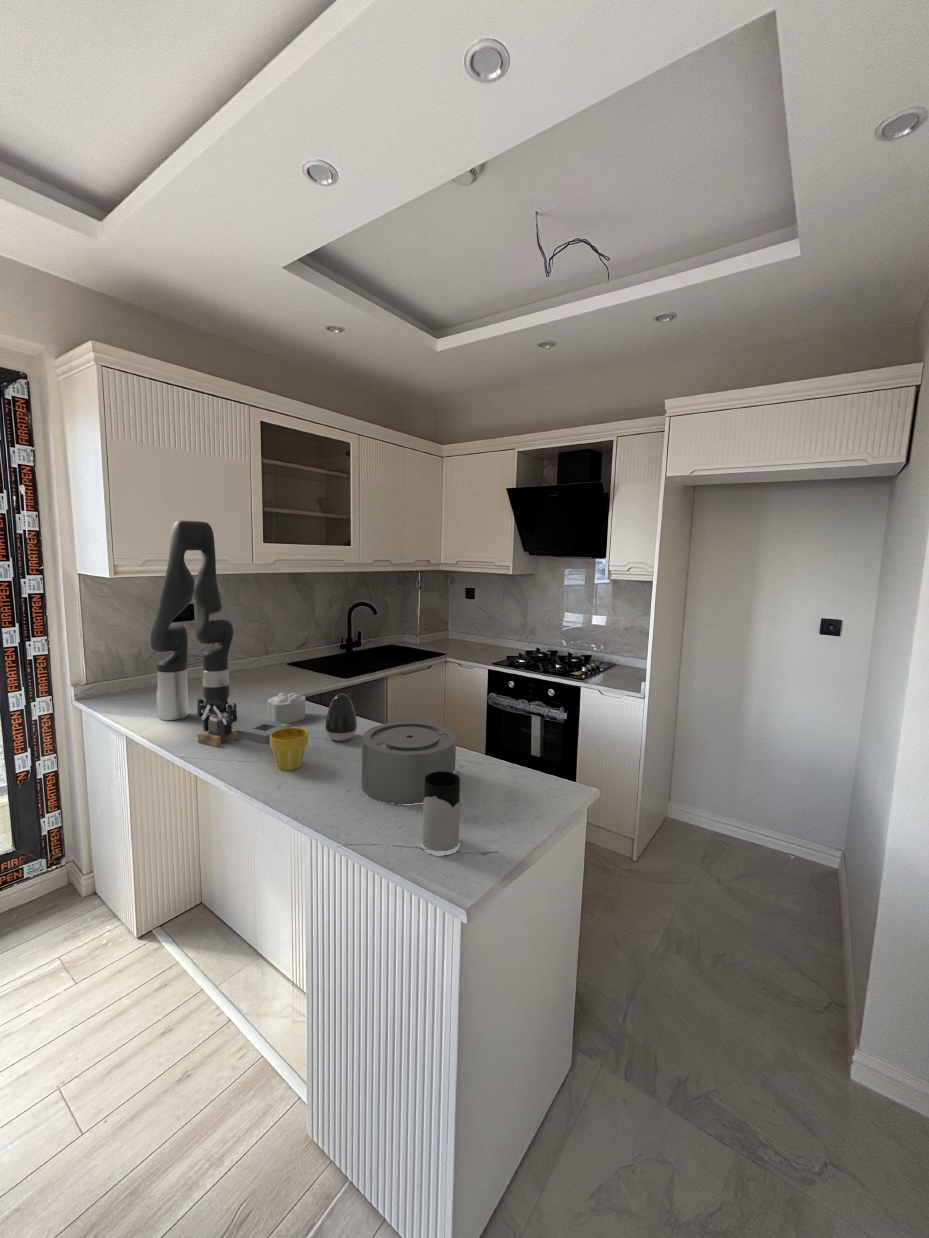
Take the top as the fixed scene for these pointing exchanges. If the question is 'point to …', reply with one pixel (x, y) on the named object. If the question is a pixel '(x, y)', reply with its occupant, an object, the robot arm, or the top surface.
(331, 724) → the dark grey egg shape
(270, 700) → the white lumpy box
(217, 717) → the plug
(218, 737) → the pair of wooden planks
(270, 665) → the top surface
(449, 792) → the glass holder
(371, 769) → the container
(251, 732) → the port
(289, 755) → the plant pot
